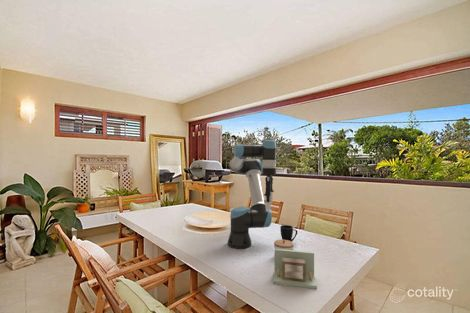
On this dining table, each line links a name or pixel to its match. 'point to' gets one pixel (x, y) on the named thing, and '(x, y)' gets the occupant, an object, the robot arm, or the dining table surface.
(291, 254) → the ledge
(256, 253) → the dining table surface
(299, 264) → the brown tapered block
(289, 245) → the lidded jar
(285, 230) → the mug
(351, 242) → the dining table surface
